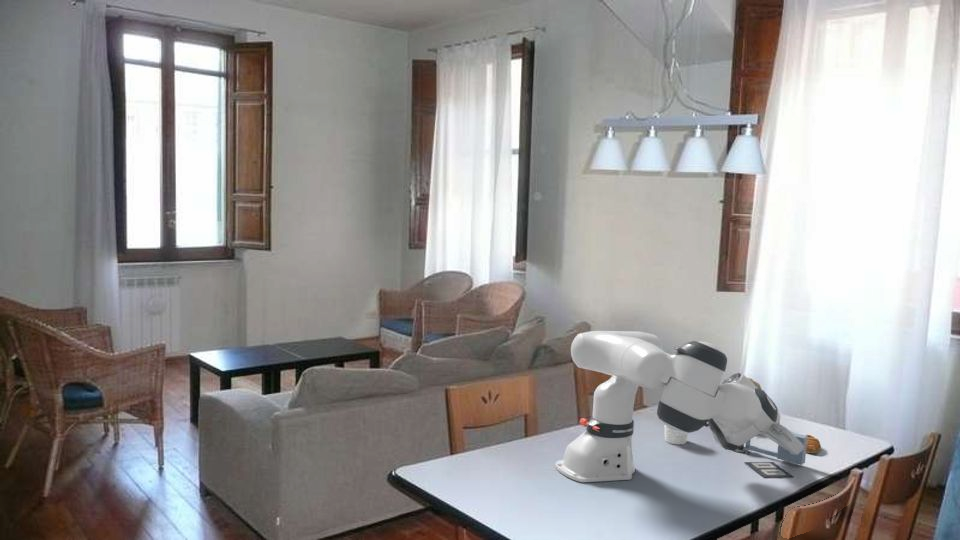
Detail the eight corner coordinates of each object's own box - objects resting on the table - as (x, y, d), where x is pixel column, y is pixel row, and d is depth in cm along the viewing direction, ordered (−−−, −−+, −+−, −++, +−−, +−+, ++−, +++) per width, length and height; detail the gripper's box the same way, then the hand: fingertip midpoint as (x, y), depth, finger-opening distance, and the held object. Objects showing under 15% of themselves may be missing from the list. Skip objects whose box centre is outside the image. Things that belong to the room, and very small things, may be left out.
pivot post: (739, 453, 224) (740, 441, 224) (726, 448, 229) (727, 436, 228) (751, 451, 226) (752, 439, 226) (739, 446, 231) (740, 434, 231)
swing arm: (729, 446, 227) (731, 421, 226) (735, 443, 231) (737, 418, 230) (800, 465, 213) (803, 438, 212) (805, 462, 217) (808, 435, 216)
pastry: (824, 456, 226) (825, 444, 225) (800, 454, 227) (801, 442, 227) (817, 446, 235) (818, 435, 234) (794, 444, 236) (795, 432, 236)
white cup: (685, 438, 237) (688, 407, 236) (690, 446, 229) (692, 415, 228) (660, 436, 237) (663, 406, 236) (664, 444, 230) (666, 413, 229)
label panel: (763, 477, 205) (763, 475, 205) (744, 463, 216) (744, 461, 216) (793, 477, 207) (793, 475, 207) (773, 462, 217) (773, 461, 217)
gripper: (791, 422, 201) (820, 457, 204) (753, 400, 222) (781, 432, 224) (774, 438, 201) (804, 472, 204) (738, 415, 221) (766, 446, 224)
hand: (791, 451), depth 214 cm, fingers closed
